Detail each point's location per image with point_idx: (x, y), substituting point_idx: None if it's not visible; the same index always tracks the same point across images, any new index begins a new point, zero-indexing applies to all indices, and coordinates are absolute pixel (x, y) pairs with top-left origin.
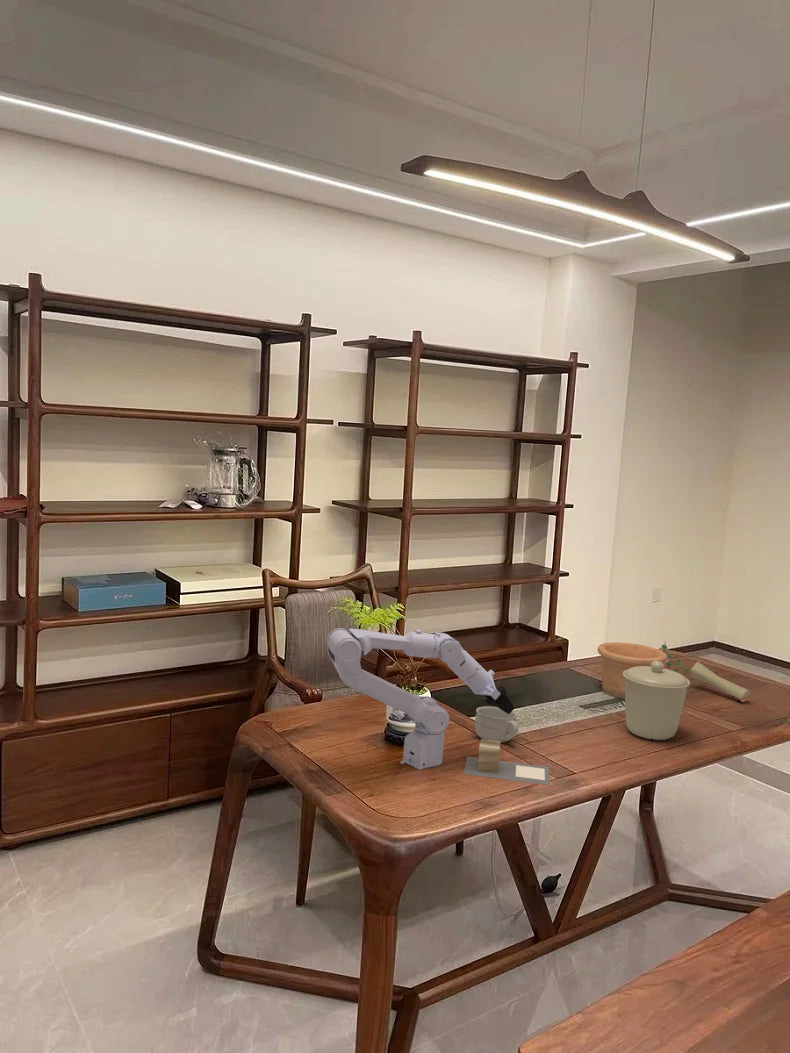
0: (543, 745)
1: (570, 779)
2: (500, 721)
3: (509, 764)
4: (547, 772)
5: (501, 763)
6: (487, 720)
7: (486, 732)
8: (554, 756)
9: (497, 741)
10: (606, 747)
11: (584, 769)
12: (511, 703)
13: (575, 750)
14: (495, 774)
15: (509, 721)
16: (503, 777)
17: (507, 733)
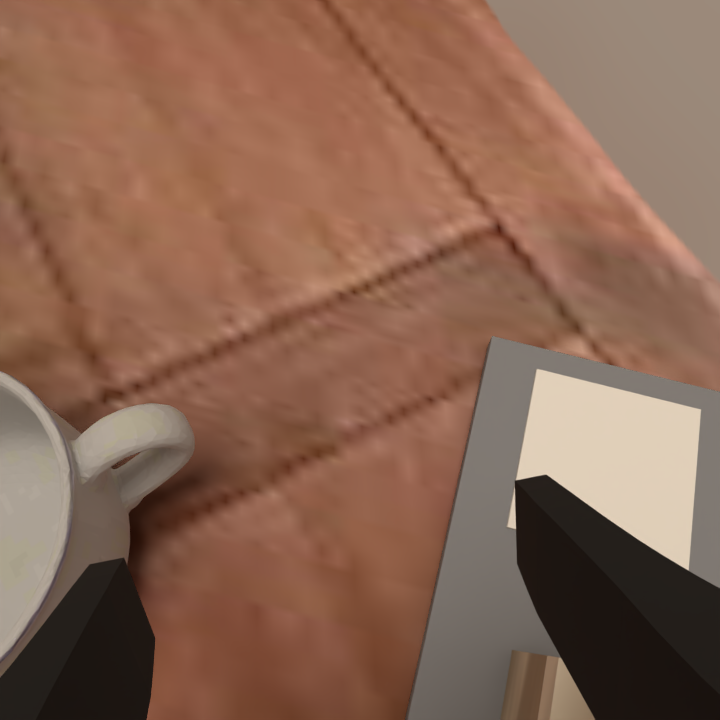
0: (134, 278)
1: (580, 269)
2: (75, 535)
3: (488, 566)
4: (574, 364)
5: (478, 620)
6: (18, 653)
7: None
8: (289, 264)
9: (563, 688)
10: (181, 20)
11: (446, 175)
12: (605, 517)
13: (211, 148)
14: None
15: (104, 459)
16: None
17: (112, 482)
